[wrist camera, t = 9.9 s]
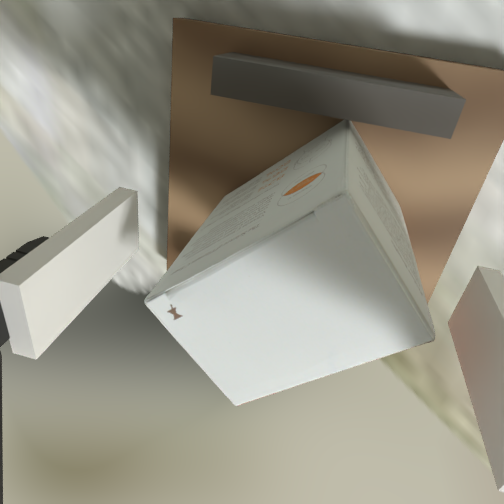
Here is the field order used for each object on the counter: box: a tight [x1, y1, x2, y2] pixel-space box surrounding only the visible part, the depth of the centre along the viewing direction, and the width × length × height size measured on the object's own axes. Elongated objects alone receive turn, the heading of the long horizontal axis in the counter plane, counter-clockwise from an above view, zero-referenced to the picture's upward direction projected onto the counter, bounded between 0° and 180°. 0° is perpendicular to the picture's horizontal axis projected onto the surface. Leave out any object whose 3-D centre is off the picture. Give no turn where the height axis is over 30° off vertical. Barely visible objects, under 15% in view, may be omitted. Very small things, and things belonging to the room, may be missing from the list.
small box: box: [144, 119, 435, 406], centre depth 17 cm, size 8×6×10 cm
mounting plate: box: [167, 18, 504, 304], centre depth 21 cm, size 15×16×4 cm
